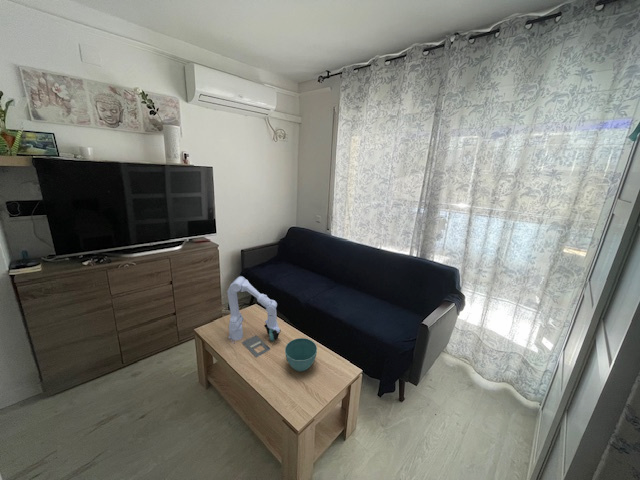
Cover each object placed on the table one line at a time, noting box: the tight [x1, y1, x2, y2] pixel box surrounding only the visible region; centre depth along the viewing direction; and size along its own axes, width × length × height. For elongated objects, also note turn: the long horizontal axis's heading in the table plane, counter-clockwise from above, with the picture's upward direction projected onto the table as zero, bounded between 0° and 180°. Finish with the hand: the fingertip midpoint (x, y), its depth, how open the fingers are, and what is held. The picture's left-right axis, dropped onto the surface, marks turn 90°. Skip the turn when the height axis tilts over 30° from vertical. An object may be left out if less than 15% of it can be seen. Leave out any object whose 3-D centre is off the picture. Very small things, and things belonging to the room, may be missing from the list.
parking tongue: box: [264, 334, 282, 347], centre depth 163 cm, size 10×7×2 cm
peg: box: [269, 329, 275, 341], centre depth 162 cm, size 4×4×8 cm
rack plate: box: [241, 334, 271, 358], centre depth 156 cm, size 17×10×3 cm, turn 45°
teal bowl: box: [284, 337, 318, 372], centre depth 142 cm, size 18×18×12 cm
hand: (272, 336), depth 162 cm, fingers open, 7 cm apart
